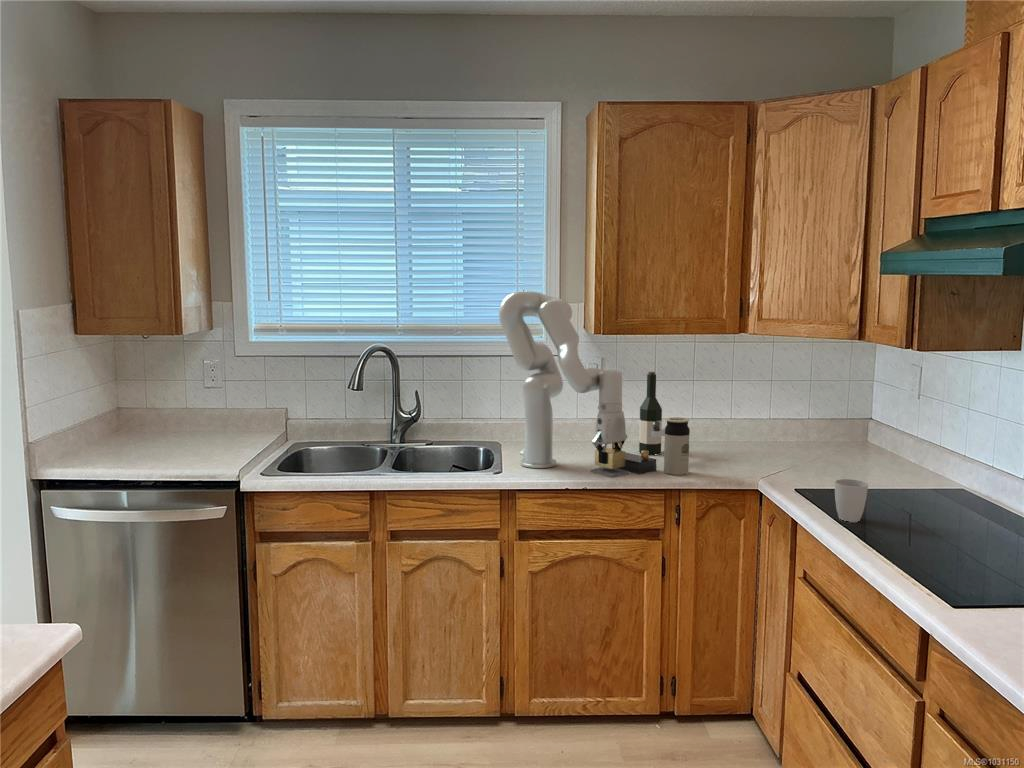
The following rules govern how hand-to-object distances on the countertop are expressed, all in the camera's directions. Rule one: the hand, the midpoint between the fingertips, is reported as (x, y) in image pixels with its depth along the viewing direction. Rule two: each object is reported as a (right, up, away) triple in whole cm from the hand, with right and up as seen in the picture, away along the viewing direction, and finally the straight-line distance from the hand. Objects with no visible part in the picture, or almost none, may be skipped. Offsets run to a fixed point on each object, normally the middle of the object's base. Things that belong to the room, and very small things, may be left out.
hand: (609, 461), depth 264 cm
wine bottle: (+19, 0, +31) cm, 36 cm away
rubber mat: (0, -4, 0) cm, 4 cm away
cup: (+57, -11, -52) cm, 78 cm away
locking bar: (+23, +8, +18) cm, 30 cm away
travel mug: (+22, -4, 0) cm, 22 cm away
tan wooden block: (0, -1, 0) cm, 1 cm away
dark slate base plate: (+8, -3, +7) cm, 11 cm away
